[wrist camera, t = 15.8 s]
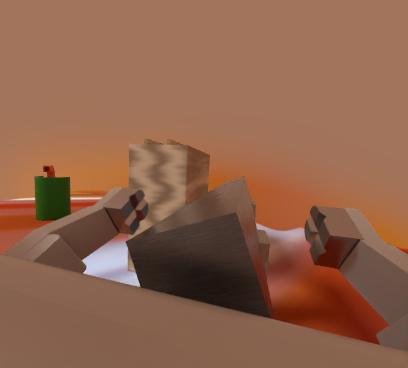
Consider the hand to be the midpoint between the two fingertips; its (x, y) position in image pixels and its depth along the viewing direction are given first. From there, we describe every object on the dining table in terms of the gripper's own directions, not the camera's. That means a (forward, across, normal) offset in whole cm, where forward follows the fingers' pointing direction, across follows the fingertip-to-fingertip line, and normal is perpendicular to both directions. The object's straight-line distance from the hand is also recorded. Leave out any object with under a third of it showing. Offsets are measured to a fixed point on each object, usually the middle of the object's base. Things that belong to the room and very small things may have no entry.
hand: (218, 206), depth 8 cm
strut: (+6, -1, +7) cm, 10 cm away
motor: (+25, +70, +38) cm, 83 cm away
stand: (+16, +15, +33) cm, 40 cm away
